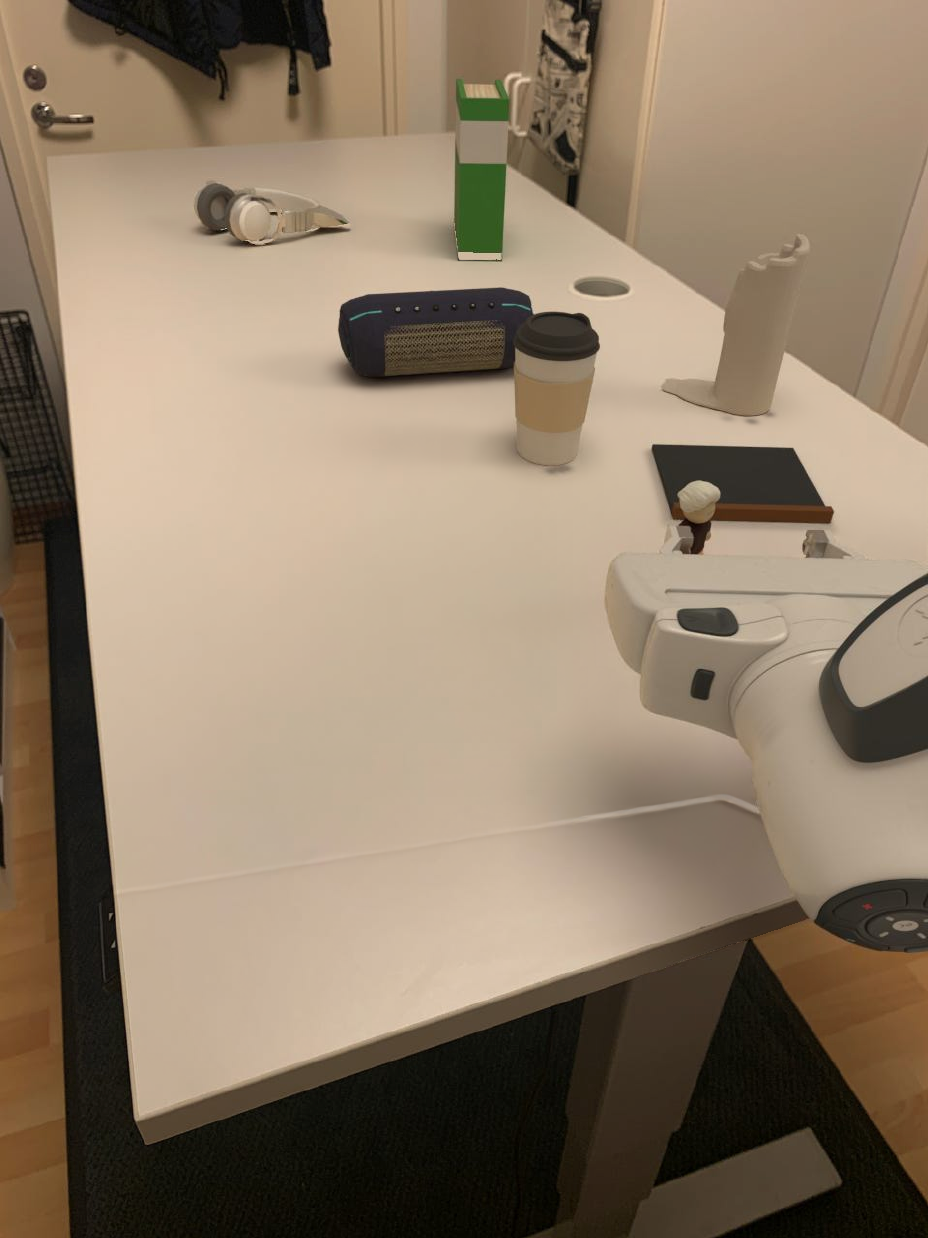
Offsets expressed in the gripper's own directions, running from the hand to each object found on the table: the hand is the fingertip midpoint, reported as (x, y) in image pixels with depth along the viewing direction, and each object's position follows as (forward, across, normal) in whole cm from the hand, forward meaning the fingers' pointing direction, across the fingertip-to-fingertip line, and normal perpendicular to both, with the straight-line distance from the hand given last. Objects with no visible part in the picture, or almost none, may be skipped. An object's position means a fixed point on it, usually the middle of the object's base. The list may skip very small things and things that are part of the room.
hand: (745, 535), depth 62 cm
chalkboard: (+34, -10, +16) cm, 39 cm away
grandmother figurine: (+12, 0, +16) cm, 20 cm away
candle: (+55, -12, +16) cm, 59 cm away
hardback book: (+114, +18, +16) cm, 117 cm away
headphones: (+120, +56, +16) cm, 134 cm away
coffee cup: (+40, +10, +16) cm, 44 cm away
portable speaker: (+61, +23, +16) cm, 67 cm away
